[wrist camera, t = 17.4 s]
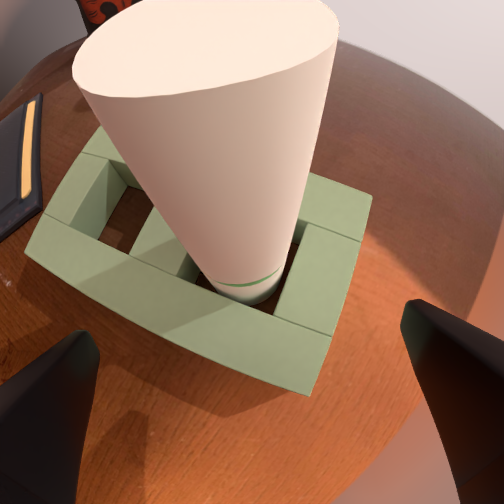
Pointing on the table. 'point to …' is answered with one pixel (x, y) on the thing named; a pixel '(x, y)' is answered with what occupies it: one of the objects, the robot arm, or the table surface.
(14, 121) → the wallet
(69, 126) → the table surface
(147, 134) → the tube
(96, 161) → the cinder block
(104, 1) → the statue
